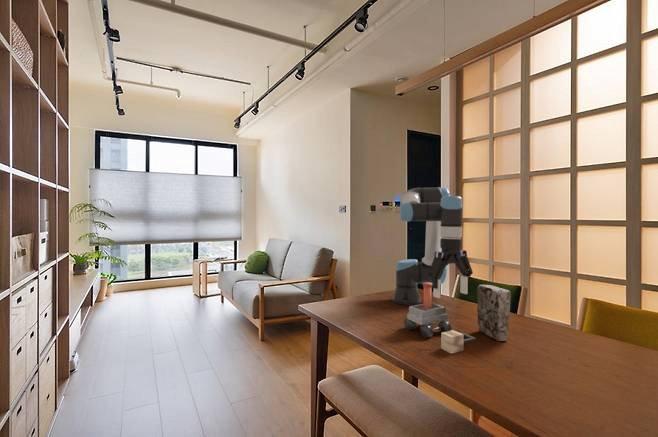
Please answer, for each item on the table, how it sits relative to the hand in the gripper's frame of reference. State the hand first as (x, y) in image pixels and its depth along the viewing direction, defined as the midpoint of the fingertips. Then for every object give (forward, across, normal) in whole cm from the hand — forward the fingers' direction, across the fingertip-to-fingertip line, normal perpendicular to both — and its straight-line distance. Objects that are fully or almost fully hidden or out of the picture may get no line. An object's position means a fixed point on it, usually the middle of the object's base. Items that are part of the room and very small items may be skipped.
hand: (450, 295), depth 125 cm
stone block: (+20, -25, -2) cm, 32 cm away
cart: (+20, -5, -18) cm, 27 cm away
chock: (+20, 0, +1) cm, 20 cm away
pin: (+12, -5, -18) cm, 22 cm away
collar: (+20, -12, -5) cm, 24 cm away
